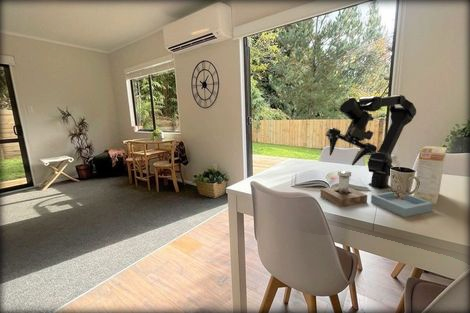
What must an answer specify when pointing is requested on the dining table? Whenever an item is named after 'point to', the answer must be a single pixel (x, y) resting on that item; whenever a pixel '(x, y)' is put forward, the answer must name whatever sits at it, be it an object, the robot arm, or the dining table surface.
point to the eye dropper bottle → (395, 161)
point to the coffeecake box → (430, 173)
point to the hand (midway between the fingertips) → (341, 160)
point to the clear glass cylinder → (343, 182)
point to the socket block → (343, 196)
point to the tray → (402, 204)
